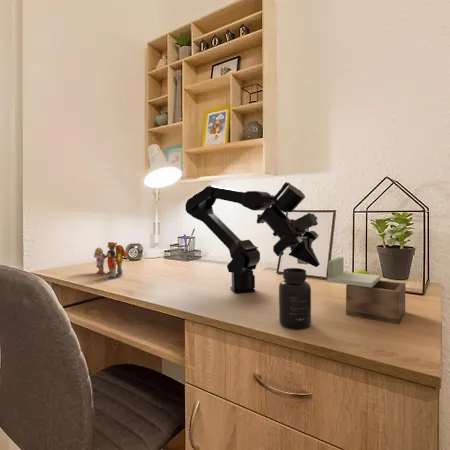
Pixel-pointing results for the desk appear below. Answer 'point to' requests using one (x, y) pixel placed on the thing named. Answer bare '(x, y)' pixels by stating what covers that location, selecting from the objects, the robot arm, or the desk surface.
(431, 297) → the desk surface
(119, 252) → the doll family
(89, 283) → the desk surface
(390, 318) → the pencil box
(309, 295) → the supplement bottle
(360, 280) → the lid
